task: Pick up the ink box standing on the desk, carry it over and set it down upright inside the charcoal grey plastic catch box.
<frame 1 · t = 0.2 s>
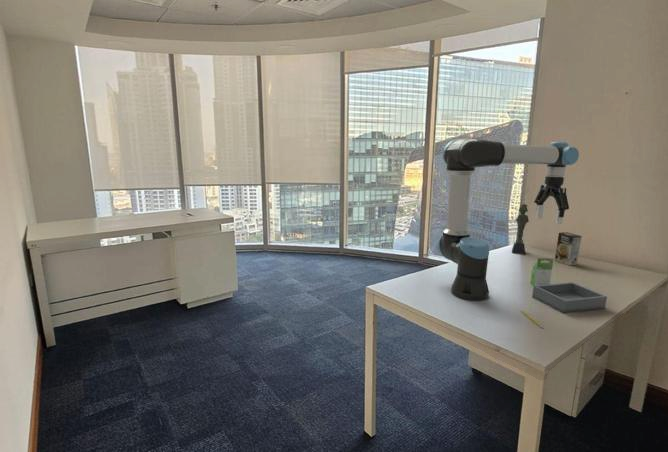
hand: (548, 221, 179), 27 cm above the table, tool pointing down, fingers open, 13 cm apart
ink box: (539, 285, 173), on the table
pencil: (531, 321, 138), on the table
statue: (518, 252, 226), on the table
coffee box: (565, 262, 207), on the table
catch box: (567, 302, 154), on the table
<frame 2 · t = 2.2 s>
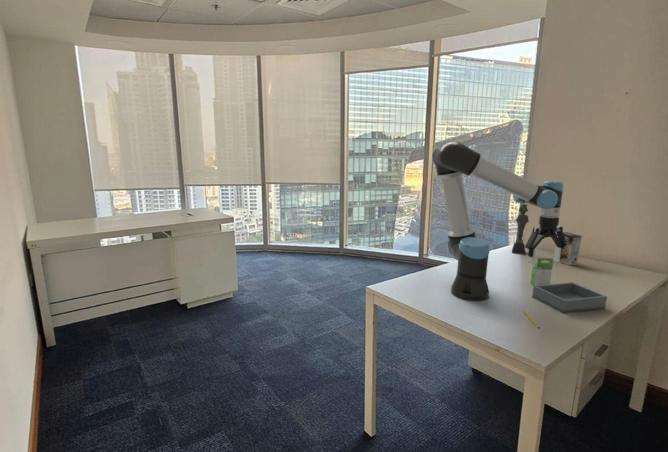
hand: (543, 262, 170), 11 cm above the table, tool pointing down, fingers open, 13 cm apart
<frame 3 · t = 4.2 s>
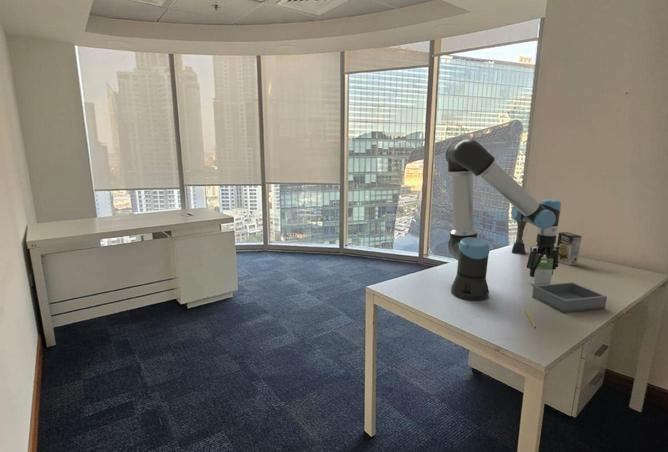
hand: (540, 282, 172), 1 cm above the table, tool pointing down, fingers closed on ink box, 8 cm apart
ink box: (539, 285, 173), on the table, touching gripper
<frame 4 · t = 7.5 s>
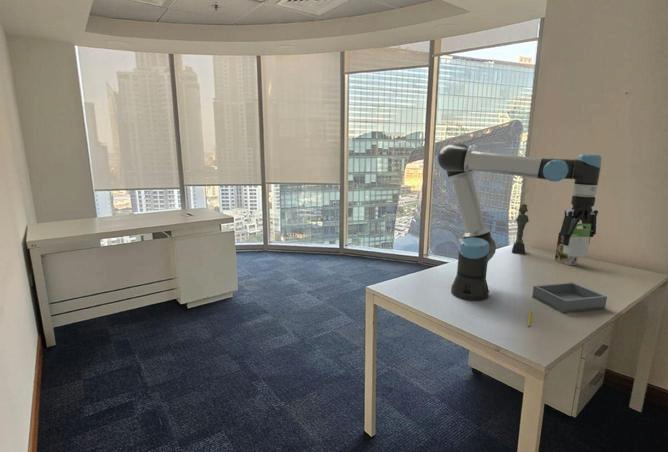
hand: (574, 252, 149), 21 cm above the table, tool pointing down, fingers closed on ink box, 8 cm apart
ink box: (574, 256, 150), point 20 cm above the table, touching gripper
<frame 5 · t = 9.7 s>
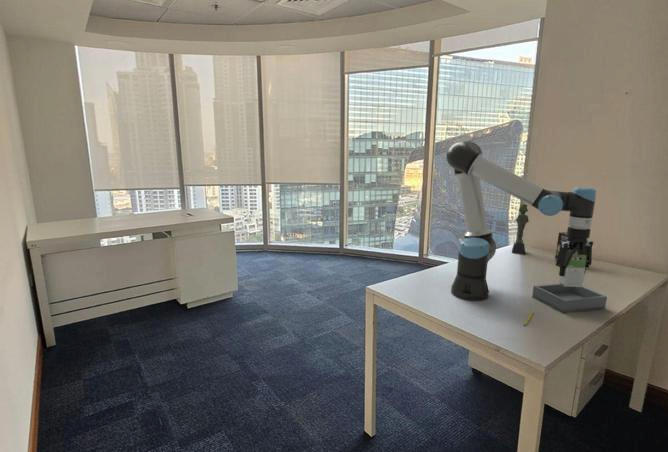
hand: (570, 282, 152), 9 cm above the table, tool pointing down, fingers closed on ink box, 8 cm apart
ink box: (570, 286, 152), point 7 cm above the table, touching gripper
when the fingers open (5 cm above the table, at t = 11.3 s): ink box drops 3 cm, resting on catch box.
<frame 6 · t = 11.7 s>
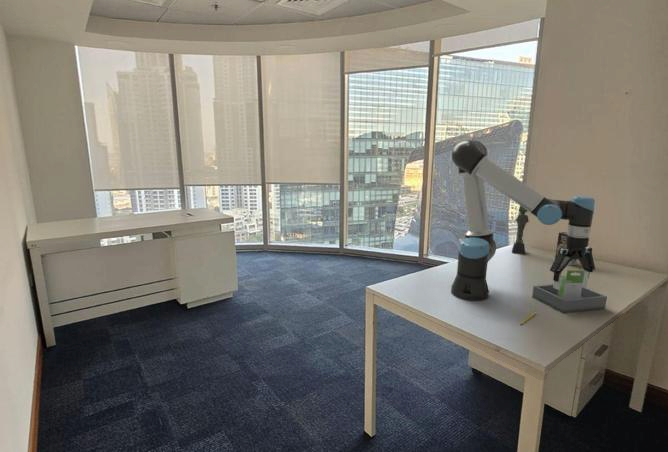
hand: (569, 287, 152), 7 cm above the table, tool pointing down, fingers open, 12 cm apart
ink box: (568, 300, 153), point 1 cm above the table, touching catch box
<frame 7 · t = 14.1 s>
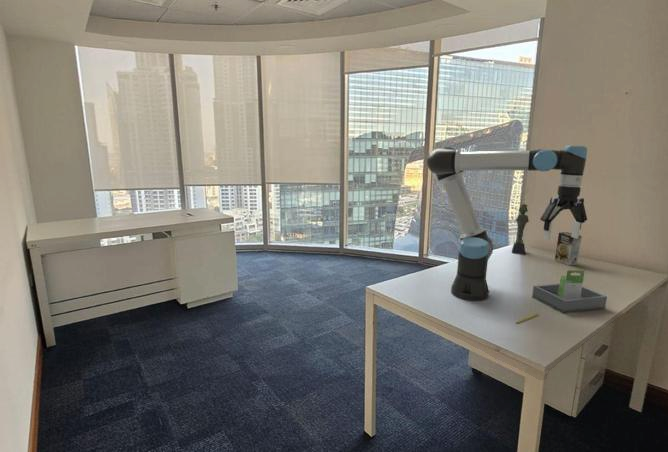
hand: (560, 238, 153), 26 cm above the table, tool pointing down, fingers open, 13 cm apart
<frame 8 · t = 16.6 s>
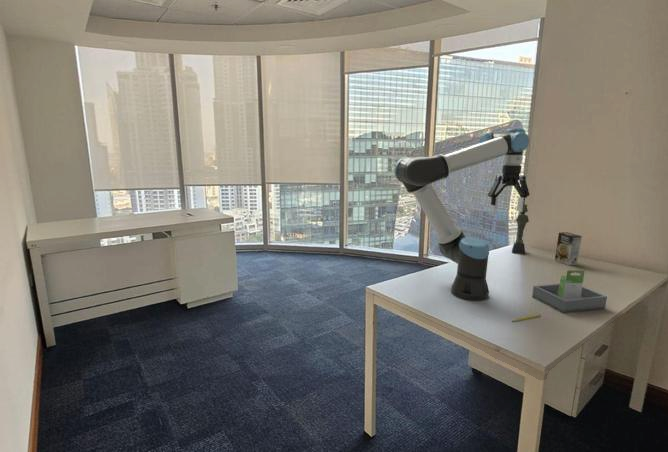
hand: (506, 211, 172), 33 cm above the table, tool pointing down, fingers open, 13 cm apart
at the end: ink box inside the target area on the catch box (0.4 cm from its centre), point 0.8 cm above the catch box's base; ink box tilted 0°; the gripper is holding nothing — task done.
